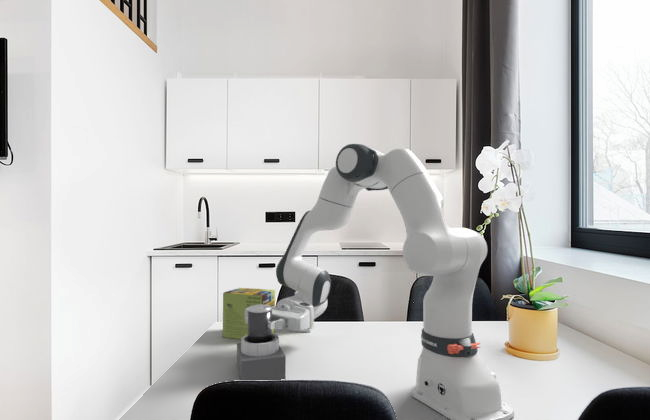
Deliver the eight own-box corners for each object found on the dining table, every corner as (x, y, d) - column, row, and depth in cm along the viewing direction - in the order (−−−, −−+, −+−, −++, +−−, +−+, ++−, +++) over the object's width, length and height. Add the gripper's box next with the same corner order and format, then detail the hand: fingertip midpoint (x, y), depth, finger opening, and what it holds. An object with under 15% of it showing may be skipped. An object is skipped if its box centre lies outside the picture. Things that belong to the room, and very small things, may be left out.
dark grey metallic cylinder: (273, 347, 100) (273, 309, 100) (249, 349, 98) (249, 310, 98) (269, 339, 106) (269, 303, 106) (246, 341, 104) (246, 305, 104)
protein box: (262, 342, 126) (262, 295, 126) (222, 337, 131) (222, 292, 131) (275, 332, 136) (275, 289, 136) (237, 328, 141) (238, 287, 141)
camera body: (285, 379, 97) (285, 344, 97) (241, 385, 93) (241, 349, 93) (275, 360, 110) (275, 328, 110) (236, 364, 106) (236, 332, 107)
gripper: (263, 298, 118) (230, 307, 107) (317, 306, 107) (287, 317, 96) (263, 318, 118) (230, 329, 107) (317, 328, 107) (287, 342, 96)
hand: (257, 323), depth 101 cm, fingers closed on dark grey metallic cylinder, 6 cm apart
